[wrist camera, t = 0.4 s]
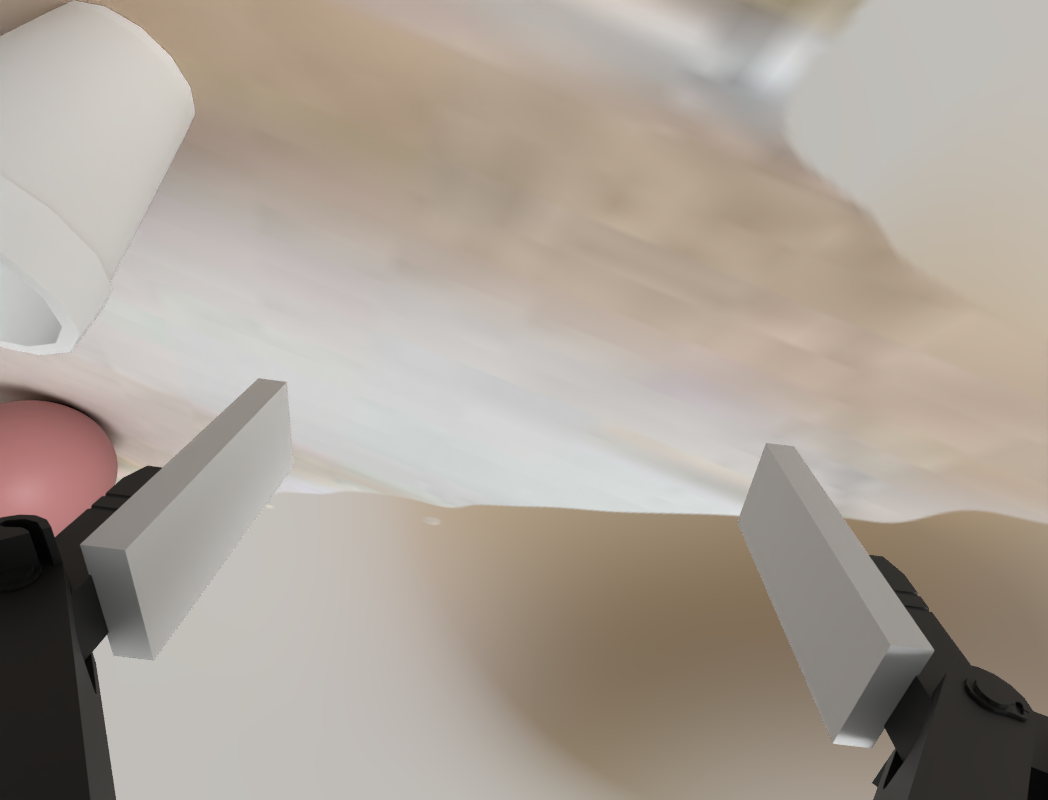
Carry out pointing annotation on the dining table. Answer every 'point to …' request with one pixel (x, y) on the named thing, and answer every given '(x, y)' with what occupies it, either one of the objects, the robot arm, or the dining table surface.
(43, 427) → the balloon
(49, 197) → the foam cup
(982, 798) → the robot arm
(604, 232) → the dining table surface
